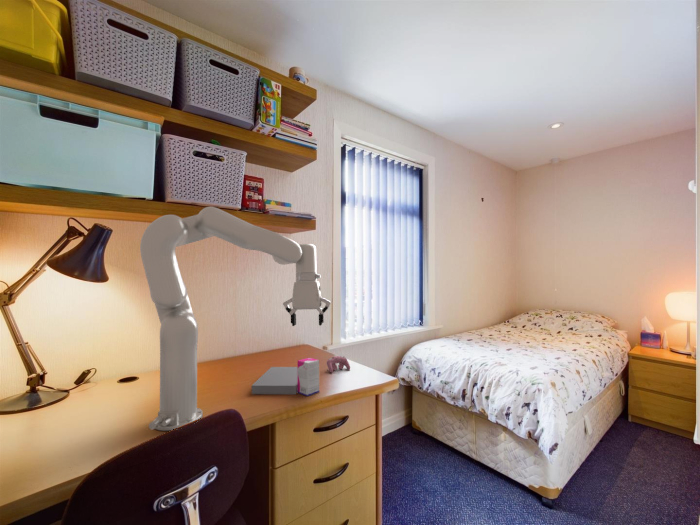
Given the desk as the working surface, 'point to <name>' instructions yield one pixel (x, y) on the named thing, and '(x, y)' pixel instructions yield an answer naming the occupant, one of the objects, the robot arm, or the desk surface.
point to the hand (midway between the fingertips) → (307, 325)
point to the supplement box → (308, 376)
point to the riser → (277, 381)
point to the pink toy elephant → (337, 359)
